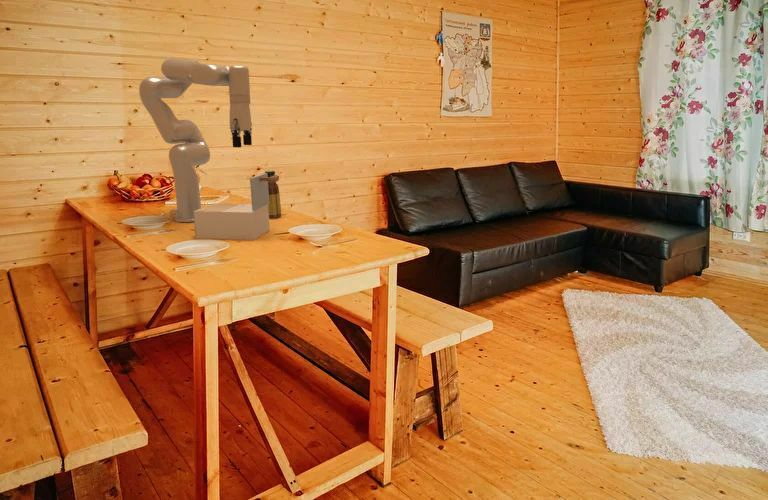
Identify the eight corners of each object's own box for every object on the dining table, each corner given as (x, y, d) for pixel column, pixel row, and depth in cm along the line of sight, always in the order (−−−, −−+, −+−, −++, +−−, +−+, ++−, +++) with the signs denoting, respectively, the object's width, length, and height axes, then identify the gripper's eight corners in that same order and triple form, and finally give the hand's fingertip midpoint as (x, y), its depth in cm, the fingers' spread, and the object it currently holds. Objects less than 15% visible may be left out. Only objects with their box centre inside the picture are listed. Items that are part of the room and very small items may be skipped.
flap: (249, 178, 199) (269, 178, 198) (265, 173, 213) (283, 173, 212) (252, 210, 202) (271, 211, 201) (267, 203, 216) (285, 203, 215)
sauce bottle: (277, 215, 248) (274, 169, 243) (284, 217, 243) (281, 170, 238) (263, 217, 244) (260, 170, 239) (270, 219, 239) (267, 172, 234)
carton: (195, 238, 208) (192, 210, 205) (214, 228, 223) (212, 203, 220) (253, 239, 204) (251, 211, 201) (269, 230, 219) (267, 203, 217)
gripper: (240, 99, 223) (242, 144, 228) (220, 100, 207) (223, 148, 211) (258, 100, 222) (260, 144, 226) (239, 100, 205) (242, 148, 210)
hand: (242, 146), depth 219 cm, fingers open, 9 cm apart
